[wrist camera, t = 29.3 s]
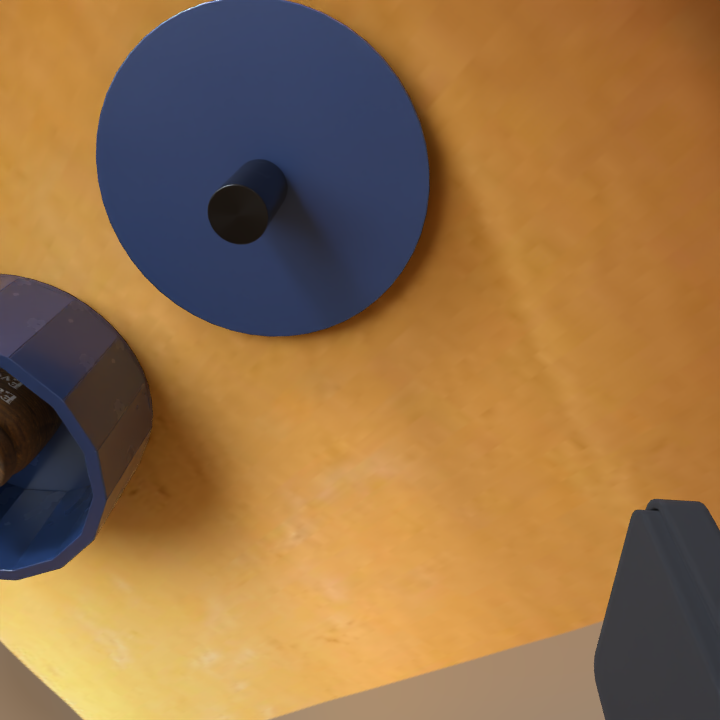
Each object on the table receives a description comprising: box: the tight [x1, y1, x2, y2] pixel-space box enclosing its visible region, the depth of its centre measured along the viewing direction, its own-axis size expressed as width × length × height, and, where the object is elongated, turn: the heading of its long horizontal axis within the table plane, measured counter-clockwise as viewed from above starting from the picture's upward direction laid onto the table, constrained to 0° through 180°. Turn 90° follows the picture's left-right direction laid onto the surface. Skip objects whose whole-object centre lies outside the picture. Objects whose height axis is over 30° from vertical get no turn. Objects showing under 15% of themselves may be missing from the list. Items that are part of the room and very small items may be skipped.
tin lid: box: [96, 0, 430, 336], centre depth 34 cm, size 18×18×7 cm
